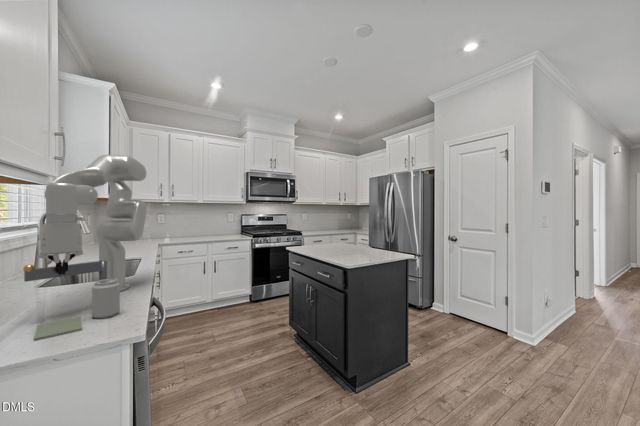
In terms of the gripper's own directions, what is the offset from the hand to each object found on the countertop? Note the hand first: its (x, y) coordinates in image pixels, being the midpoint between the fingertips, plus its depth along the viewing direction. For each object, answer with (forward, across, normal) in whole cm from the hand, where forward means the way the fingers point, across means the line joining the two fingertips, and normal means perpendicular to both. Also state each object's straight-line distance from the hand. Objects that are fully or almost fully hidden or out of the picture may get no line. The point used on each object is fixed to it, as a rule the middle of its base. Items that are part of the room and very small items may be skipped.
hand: (62, 274), depth 90 cm
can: (+15, -11, +8) cm, 20 cm away
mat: (+15, 0, +11) cm, 19 cm away
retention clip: (+13, -2, -3) cm, 14 cm away
